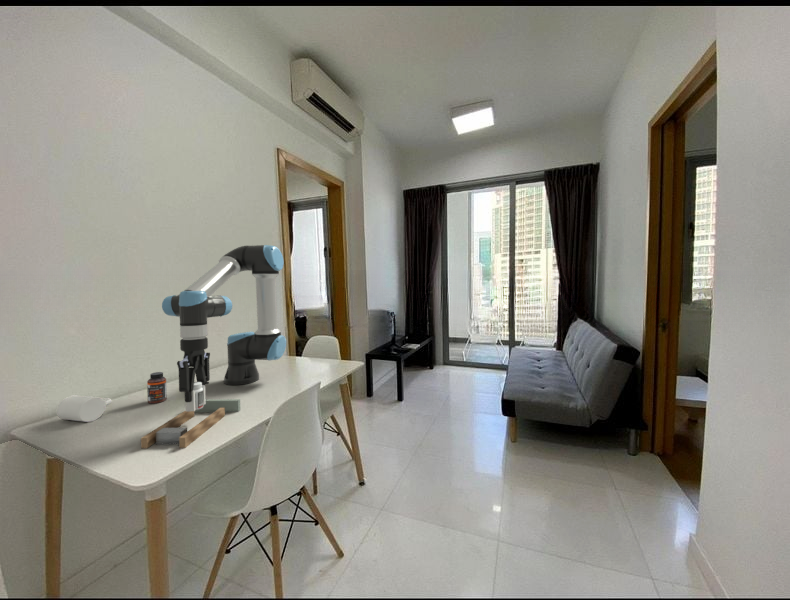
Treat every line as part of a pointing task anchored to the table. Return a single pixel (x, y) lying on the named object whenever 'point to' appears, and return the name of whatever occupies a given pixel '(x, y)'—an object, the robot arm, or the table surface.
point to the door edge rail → (221, 405)
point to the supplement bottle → (156, 388)
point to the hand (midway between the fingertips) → (195, 407)
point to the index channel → (188, 436)
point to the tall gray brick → (169, 435)
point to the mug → (82, 408)
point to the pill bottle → (198, 395)
